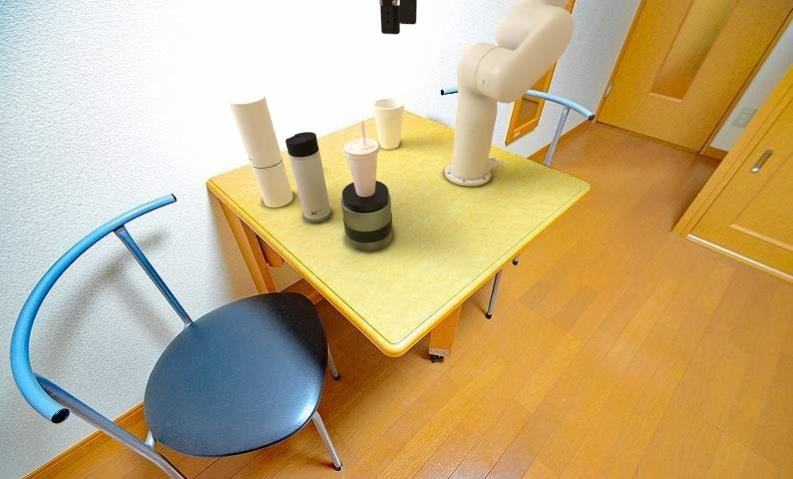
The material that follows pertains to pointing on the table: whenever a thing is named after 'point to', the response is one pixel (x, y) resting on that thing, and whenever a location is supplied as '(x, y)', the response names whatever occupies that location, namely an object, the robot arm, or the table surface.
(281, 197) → the cylindrical container
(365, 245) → the jar
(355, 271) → the table surface
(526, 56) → the robot arm
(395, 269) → the table surface
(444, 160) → the table surface
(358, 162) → the smoothie
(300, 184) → the travel mug
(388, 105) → the foam cup
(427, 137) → the table surface
